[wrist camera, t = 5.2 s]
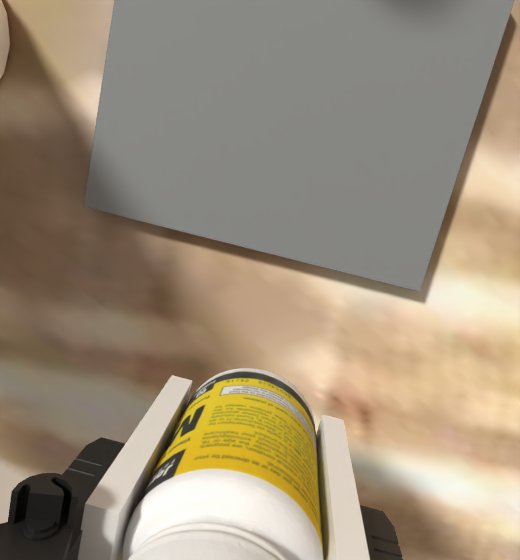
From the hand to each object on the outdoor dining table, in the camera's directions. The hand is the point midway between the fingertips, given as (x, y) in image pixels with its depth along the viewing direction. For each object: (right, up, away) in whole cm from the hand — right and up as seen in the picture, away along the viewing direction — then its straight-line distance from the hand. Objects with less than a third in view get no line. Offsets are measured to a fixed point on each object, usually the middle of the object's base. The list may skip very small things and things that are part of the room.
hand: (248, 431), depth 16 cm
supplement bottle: (0, 0, +1) cm, 1 cm away
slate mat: (+1, +13, +5) cm, 14 cm away
